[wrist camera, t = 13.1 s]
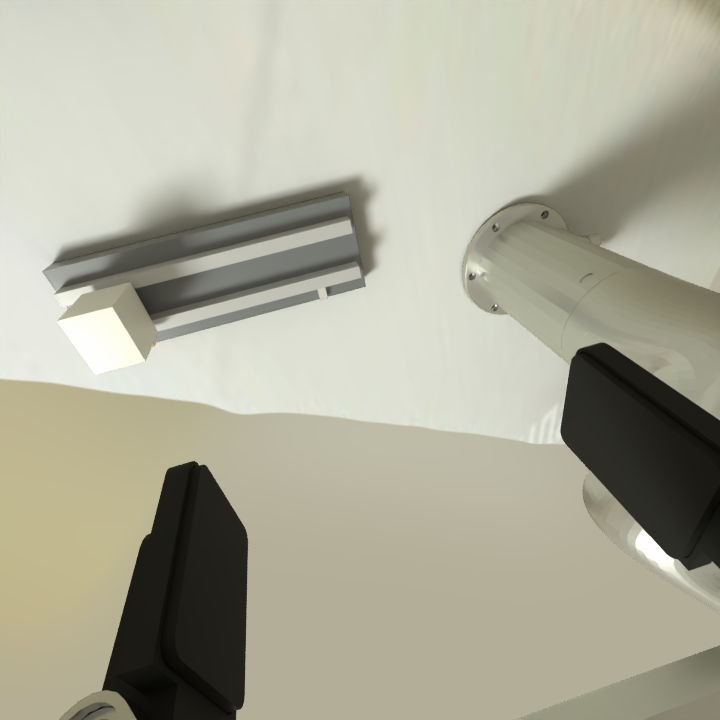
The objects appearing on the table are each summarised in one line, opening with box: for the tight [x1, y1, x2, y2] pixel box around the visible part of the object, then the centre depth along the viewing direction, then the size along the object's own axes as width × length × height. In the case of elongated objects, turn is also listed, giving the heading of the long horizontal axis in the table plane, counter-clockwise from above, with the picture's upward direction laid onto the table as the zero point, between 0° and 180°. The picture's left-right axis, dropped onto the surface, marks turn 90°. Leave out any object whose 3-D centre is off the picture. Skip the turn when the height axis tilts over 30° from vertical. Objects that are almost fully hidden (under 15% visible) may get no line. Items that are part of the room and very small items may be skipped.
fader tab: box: [57, 282, 158, 375], centre depth 33 cm, size 4×5×7 cm
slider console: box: [42, 192, 366, 347], centre depth 37 cm, size 27×9×4 cm, turn 101°
